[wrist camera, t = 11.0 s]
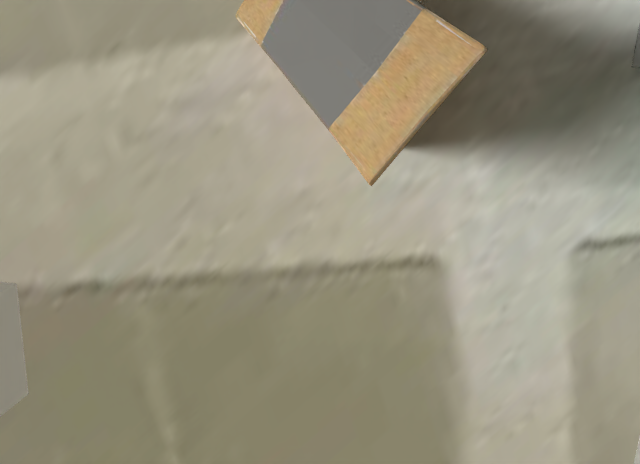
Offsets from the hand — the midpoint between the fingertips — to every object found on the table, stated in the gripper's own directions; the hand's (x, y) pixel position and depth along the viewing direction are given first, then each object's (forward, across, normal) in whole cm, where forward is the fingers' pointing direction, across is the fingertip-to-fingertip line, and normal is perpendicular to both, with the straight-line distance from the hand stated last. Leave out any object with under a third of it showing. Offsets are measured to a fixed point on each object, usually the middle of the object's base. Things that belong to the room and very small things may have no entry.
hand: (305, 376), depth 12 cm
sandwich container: (+33, -4, +8) cm, 34 cm away
